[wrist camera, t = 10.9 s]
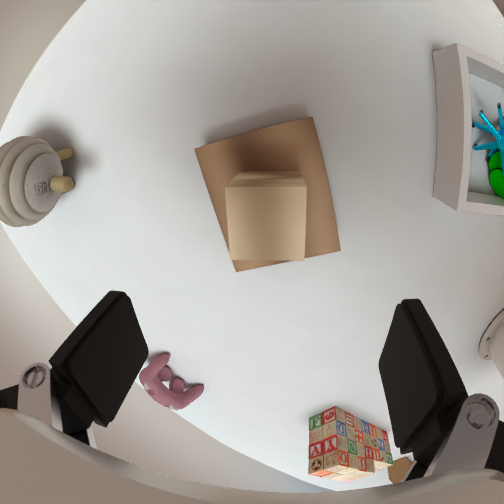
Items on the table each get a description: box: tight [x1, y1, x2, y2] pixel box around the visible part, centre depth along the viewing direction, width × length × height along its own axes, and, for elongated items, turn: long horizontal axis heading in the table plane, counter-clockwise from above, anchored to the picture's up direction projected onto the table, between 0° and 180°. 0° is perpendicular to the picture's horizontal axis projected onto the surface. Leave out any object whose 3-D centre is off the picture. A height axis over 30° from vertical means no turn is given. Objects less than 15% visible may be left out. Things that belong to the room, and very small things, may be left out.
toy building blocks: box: [388, 456, 413, 484], centre depth 45 cm, size 12×19×25 cm
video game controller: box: [139, 354, 204, 410], centre depth 38 cm, size 10×5×7 cm, turn 33°
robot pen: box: [432, 43, 504, 216], centre depth 17 cm, size 13×16×5 cm
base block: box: [194, 117, 341, 272], centre depth 24 cm, size 10×12×4 cm
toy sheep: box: [0, 136, 75, 227], centre depth 22 cm, size 11×17×11 cm, turn 88°
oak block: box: [225, 171, 307, 261], centre depth 20 cm, size 5×5×6 cm
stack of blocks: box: [308, 406, 393, 482], centre depth 39 cm, size 21×6×12 cm, turn 49°
